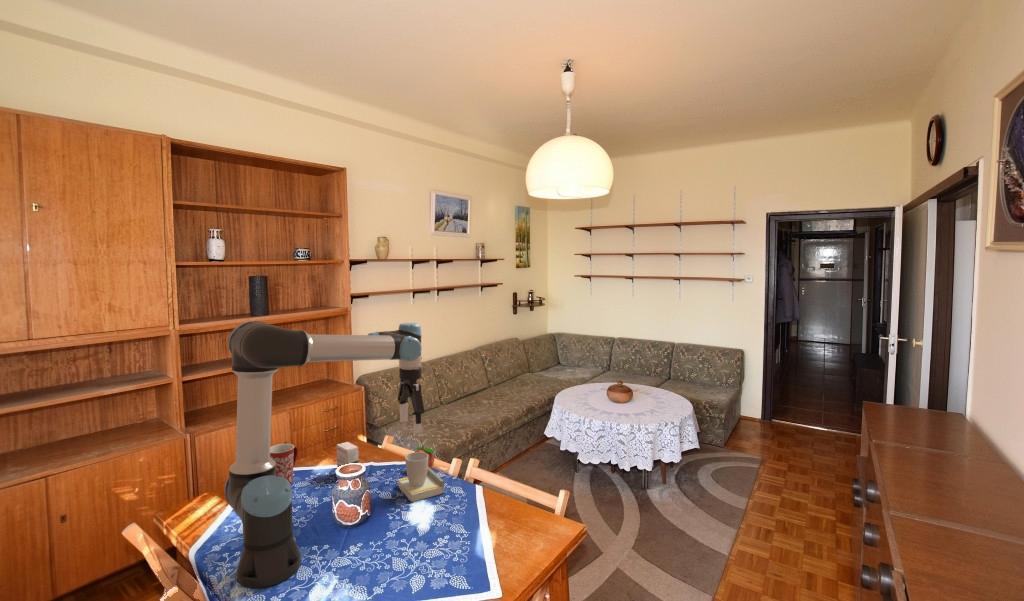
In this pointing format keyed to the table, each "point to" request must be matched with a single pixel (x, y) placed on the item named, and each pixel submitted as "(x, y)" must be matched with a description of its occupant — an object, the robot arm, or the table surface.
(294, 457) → the mug
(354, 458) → the ink box
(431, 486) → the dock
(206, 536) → the table surface
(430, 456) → the fruit
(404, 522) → the table surface
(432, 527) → the table surface
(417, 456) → the cup
